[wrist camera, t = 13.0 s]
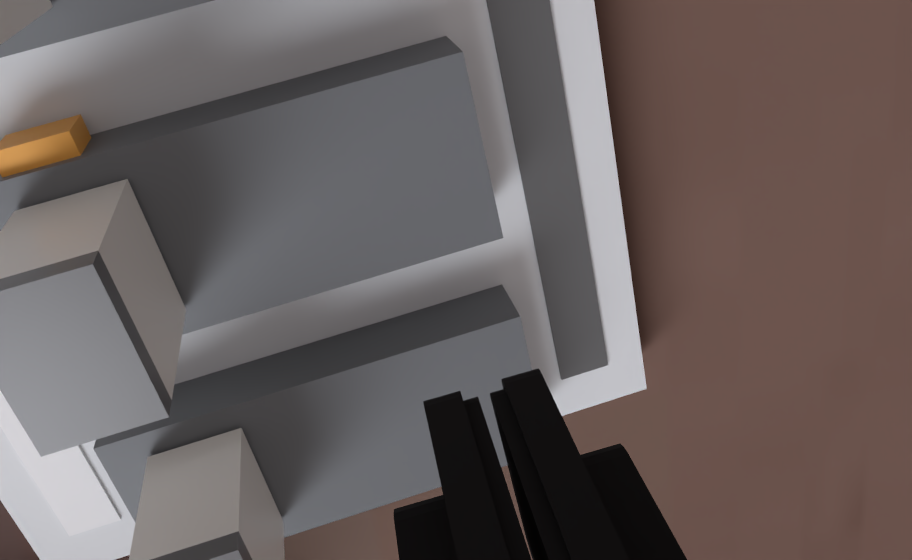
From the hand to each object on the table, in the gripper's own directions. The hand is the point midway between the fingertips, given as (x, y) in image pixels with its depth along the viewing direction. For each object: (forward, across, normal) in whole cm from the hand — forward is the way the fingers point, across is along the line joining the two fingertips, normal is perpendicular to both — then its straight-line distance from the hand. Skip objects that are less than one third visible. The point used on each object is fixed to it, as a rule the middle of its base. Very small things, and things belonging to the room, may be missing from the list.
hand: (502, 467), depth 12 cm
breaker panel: (+14, +4, -1) cm, 14 cm away
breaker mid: (+10, +8, -1) cm, 13 cm away
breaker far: (+10, +8, +7) cm, 14 cm away
